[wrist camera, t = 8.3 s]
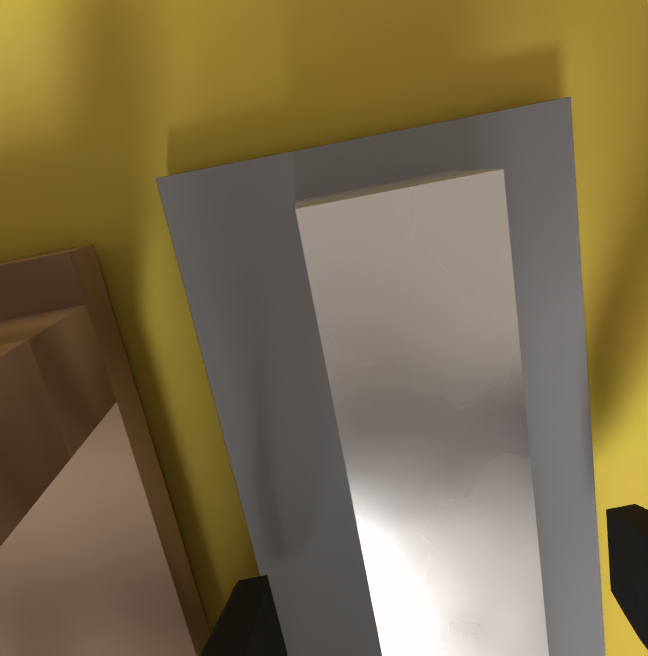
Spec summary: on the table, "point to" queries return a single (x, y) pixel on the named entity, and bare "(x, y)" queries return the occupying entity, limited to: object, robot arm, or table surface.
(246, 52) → the table surface
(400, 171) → the mat
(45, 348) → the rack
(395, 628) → the rail
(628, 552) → the robot arm
